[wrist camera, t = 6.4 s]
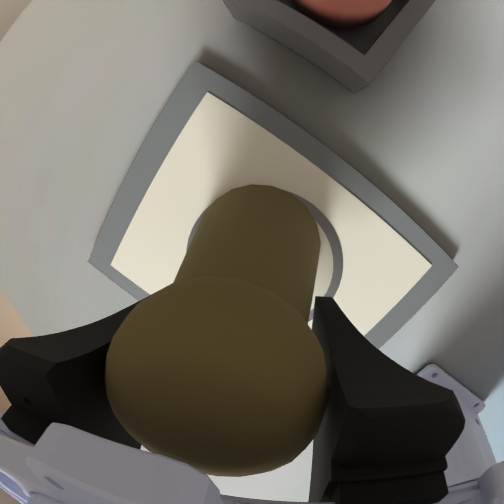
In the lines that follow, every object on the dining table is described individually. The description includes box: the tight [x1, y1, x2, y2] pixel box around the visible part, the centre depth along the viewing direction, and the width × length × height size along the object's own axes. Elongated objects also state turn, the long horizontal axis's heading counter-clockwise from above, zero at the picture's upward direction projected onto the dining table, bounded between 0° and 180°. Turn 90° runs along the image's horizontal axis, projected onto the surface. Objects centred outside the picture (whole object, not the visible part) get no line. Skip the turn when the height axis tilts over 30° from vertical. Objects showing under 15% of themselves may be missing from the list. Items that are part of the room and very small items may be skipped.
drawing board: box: [88, 61, 458, 349], centre depth 16 cm, size 17×13×1 cm
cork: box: [105, 184, 330, 477], centre depth 10 cm, size 6×6×11 cm
